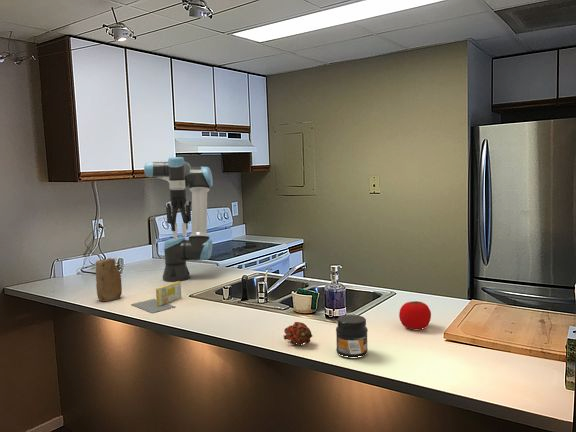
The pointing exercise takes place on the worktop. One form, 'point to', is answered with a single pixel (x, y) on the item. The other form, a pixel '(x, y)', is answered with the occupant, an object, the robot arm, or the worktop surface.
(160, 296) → the candy box
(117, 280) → the block
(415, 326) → the tomato
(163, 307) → the mat
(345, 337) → the supplement container
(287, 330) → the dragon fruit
